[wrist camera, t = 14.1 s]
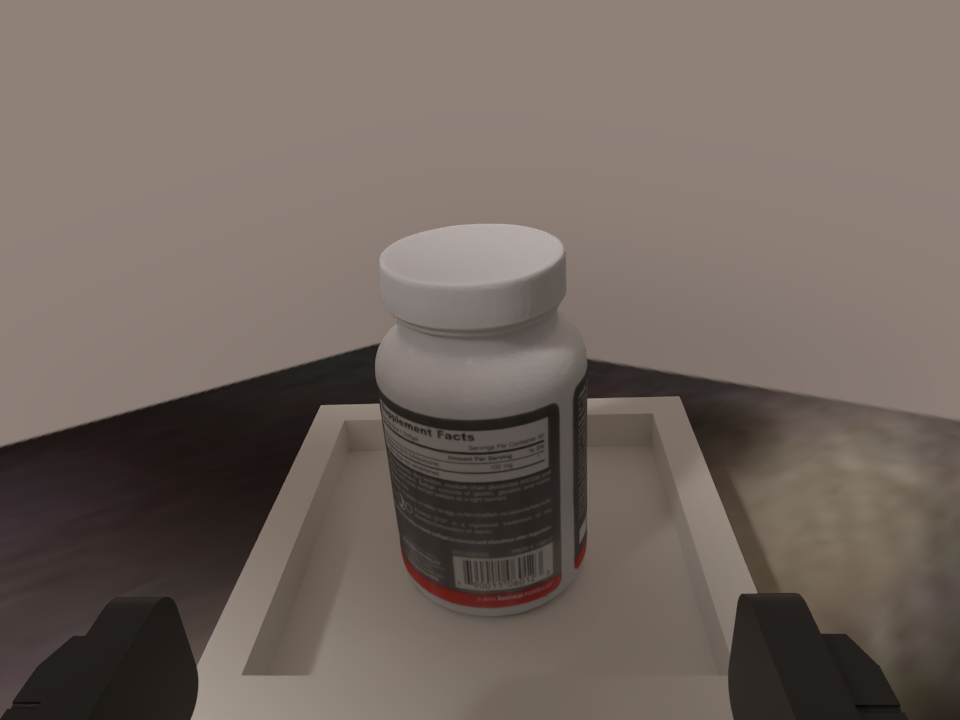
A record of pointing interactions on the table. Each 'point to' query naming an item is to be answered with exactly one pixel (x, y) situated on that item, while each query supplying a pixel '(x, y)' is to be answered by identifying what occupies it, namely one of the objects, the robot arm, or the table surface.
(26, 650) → the table surface
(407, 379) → the pill bottle
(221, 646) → the tray
